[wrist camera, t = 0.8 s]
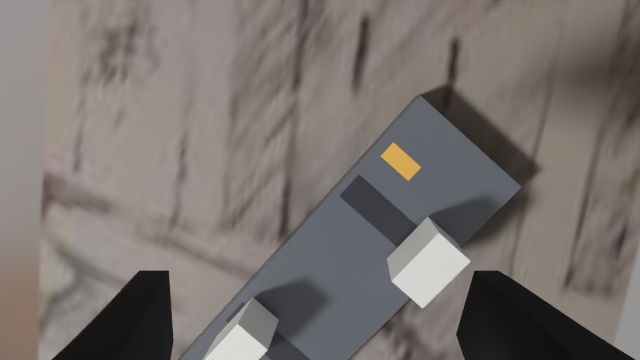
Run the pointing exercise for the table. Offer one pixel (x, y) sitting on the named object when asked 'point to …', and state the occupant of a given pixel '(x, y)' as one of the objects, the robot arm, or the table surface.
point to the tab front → (426, 262)
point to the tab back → (245, 334)
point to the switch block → (367, 238)
